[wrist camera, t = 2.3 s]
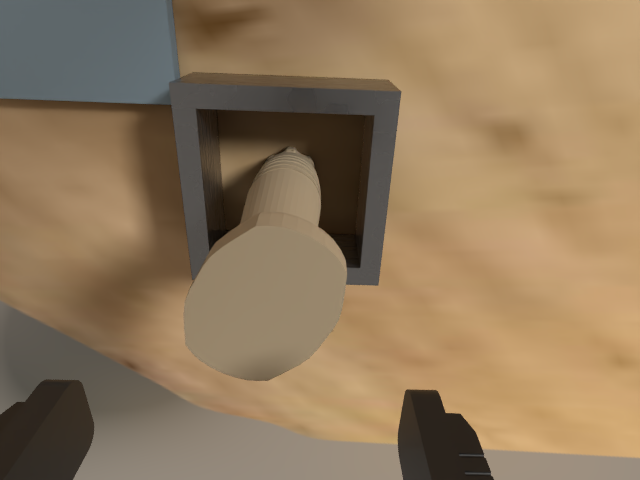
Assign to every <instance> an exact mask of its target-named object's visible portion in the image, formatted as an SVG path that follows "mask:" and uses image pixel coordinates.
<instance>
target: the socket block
mask: <svg viewBox="0 0 640 480" xmlns="http://www.w3.org/2000/svg"><path fill="white" fill-rule="evenodd" d="M169 89H170V98H171V106H172V114H173V123H174V131H175V139H176V148H177V156H178V164H179V173H180V181H181V189H182V198H183V206H184V214H185V223H186V231H187V239H188V248H189V256H190V264H191V273H192V280H194V279H195V277H196V275H197V274H198V272H199V270H200V268H201V266H202V264H203V263H204V261H205V259H206V257H207V255H208V254H209V252H210V250H211V248H212V247H213V246H214V244H215V243H216V242H217V241H218V240H219V239H221V238H222V237H223V236H225V235H226V234H227V233H228V232H230V231H231V230H225V218H224V205H223V191H222V177H221V164H220V150H219V137H218V123H217V110H244V111H270V112H297V113H324V114H350V115H365V120H364V132H363V144H362V157H361V169H360V181H359V193H358V205H357V217H356V229H355V235H351V234H328V235H329V236H330V237H331V238H333V239H334V241H335V242H336V244H337V245H338V247H339V248H340V249H341V251H342V253H343V255H344V257H345V260H346V267H347V280H346V284H347V285H378V283H379V275H380V266H381V258H382V250H383V241H384V233H385V224H386V216H387V207H388V199H389V190H390V182H391V174H392V165H393V157H394V148H395V140H396V131H397V123H398V115H399V106H400V98H401V91H400V90H399V89H398V88H397V87H396V86H395V85H393V84H392V83H391V82H390V81H389V80H377V79H351V78H325V77H300V76H274V75H248V74H223V73H197V72H193V73H190V74H188V75H186V76H183V77H181V78H178V79H176V80H173V81H171V82H169Z"/></svg>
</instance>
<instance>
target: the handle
mask: <svg viewBox="0 0 640 480" xmlns="http://www.w3.org/2000/svg"><path fill="white" fill-rule="evenodd" d="M320 210H321V191H320V184H319V179H318V176H317V173H316V171H315V169H314V162H313V160H312V159H311V157H310V156H306V155H303V154H301V153H300V152H298V151H297V150H296V148H295V147H287V149H286V150H285V151H283V152H282V153H279V154H277V155H271V156H270V157H269V158H268V159H267V160H266V162H265V163H264V165H263V166H262V167H261V169H260V170H259V172H258V174H257V175H256V177H255V179H254V181H253V183H252V185H251V187H250V189H249V192H248V195H247V198H246V202H245V206H244V210H243V214H242V218H241V222H240V225H238V226H237V227H235V228H234V229H233V230H231V231H230V232H228V233H227V234H226V235H225V236H223V237H222V238H221V239H219V240H218V241H217V242H216V243H215V244H214V246H213V247H212V248H211V250H210V252H209V254H208V255H207V257H206V259H205V261H204V263H203V264H202V266H201V268H200V270H199V272H198V274H197V275H196V277H195V279H194V281H193V283H192V285H191V287H190V290H189V292H188V295H187V297H186V300H185V305H184V331H185V344H186V346H187V347H188V349H189V350H190V351H191V352H192V353H193V354H194V355H195V356H196V357H197V358H198V359H199V360H200V361H202V362H203V363H205V364H206V365H208V366H209V367H211V368H213V369H215V370H217V371H219V372H221V373H224V374H227V375H229V376H232V377H235V378H240V379H244V380H253V381H268V380H270V379H272V378H274V377H276V376H278V375H281V374H283V373H285V372H287V371H289V370H290V369H292V368H294V367H296V366H298V365H300V364H301V363H303V362H304V361H306V360H307V359H309V358H310V357H311V356H312V355H313V354H314V353H315V352H316V351H317V349H318V348H319V347H320V346H321V344H322V343H323V342H324V340H325V339H326V338H327V337H328V335H329V334H330V333H331V331H332V330H333V328H334V327H335V325H336V324H337V322H338V320H339V317H340V314H341V311H342V307H343V301H344V295H345V287H346V280H347V267H346V260H345V257H344V255H343V253H342V251H341V249H340V248H339V247H338V245H337V244H336V242H335V241H334V239H333V238H331V237H330V236H329V235H328V234H327V233H326V232H325V231H324V230H322V229H320V228H319V227H318V224H319V217H320Z"/></svg>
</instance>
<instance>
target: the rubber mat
mask: <svg viewBox="0 0 640 480" xmlns="http://www.w3.org/2000/svg"><path fill="white" fill-rule="evenodd" d="M178 78H180V73H179V64H178V54H177V45H176V36H175V27H174V17H173V8H172V0H0V98H4V99H31V100H57V101H84V102H110V103H137V104H163V105H171V98H170V89H169V82H171V81H173V80H176V79H178Z"/></svg>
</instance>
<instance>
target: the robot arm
mask: <svg viewBox="0 0 640 480" xmlns="http://www.w3.org/2000/svg"><path fill="white" fill-rule="evenodd" d="M93 434H94V422H93V419H92V415H91V412H90V408H89V405H88V402H87V398H86V395H85V391H84V388H83V385H82V383H81V382H80V381H78V380H44V381H42V382H41V383H40V384H39V385H38V386H37V387H36V389H35V390H34V391H33V392H32V394H31V395H30V396H29V398H28V399H27V400H26V402H17V403H15V404H14V405H13V406H11V407H10V408H9V409H7V410H6V411H5V412H3V413H2V414H1V415H0V480H73V478H74V476H75V474H76V472H77V471H78V469H79V467H80V465H81V463H82V461H83V459H84V458H85V456H86V454H87V452H88V450H89V448H90V446H91V443H92V439H93ZM398 450H399V451H398V452H399V458H400V464H401V469H402V475H403V480H494V479H493V477H492V476H491V471H490V468H489V466H488V463H487V461H486V458H484V453H483V450H482V447H481V445H480V442H479V440H478V437H477V434H476V432H475V431H474V430H473V428H472V427H471V426H470V425H469V424H468V422H467V421H466V420H465V419H464V418H463V417H462V415H461V414H455V413H445V410H444V407H443V404H442V401H441V397H440V395H439V393H438V391H436V390H406V391H405V395H404V401H403V407H402V412H401V418H400V424H399V430H398Z"/></svg>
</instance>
